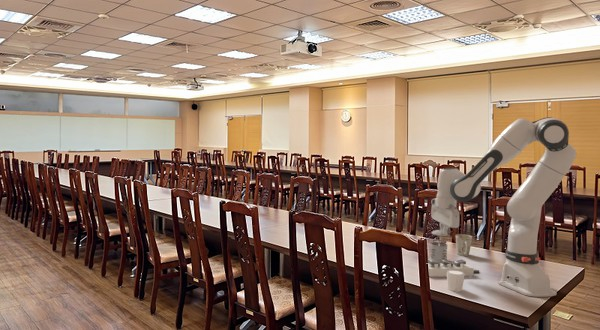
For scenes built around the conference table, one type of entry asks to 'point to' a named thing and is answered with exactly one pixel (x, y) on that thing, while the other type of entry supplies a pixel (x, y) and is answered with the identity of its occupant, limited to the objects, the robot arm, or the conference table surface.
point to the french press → (438, 248)
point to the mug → (463, 244)
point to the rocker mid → (446, 262)
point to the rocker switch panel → (442, 269)
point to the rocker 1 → (433, 262)
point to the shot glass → (455, 280)
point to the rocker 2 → (459, 262)
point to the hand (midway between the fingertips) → (443, 233)
